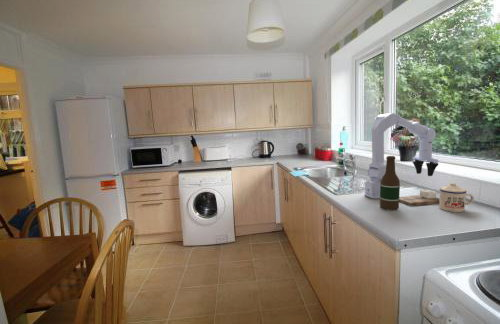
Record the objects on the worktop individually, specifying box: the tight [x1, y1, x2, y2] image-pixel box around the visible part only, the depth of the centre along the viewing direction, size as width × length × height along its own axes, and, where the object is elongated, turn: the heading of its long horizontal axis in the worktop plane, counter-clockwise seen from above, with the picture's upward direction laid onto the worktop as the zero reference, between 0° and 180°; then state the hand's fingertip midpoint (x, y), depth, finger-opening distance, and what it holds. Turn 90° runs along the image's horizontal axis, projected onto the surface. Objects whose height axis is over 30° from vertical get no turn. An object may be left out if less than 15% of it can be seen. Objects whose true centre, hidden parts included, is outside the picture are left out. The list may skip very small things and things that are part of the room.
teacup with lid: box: [438, 182, 475, 213], centre depth 107 cm, size 12×9×12 cm
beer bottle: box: [379, 155, 401, 211], centre depth 112 cm, size 8×8×24 cm
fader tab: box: [419, 189, 437, 199], centre depth 122 cm, size 4×5×3 cm
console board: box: [399, 194, 440, 207], centre depth 121 cm, size 18×10×2 cm, turn 99°
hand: (424, 174), depth 136 cm, fingers open, 7 cm apart
